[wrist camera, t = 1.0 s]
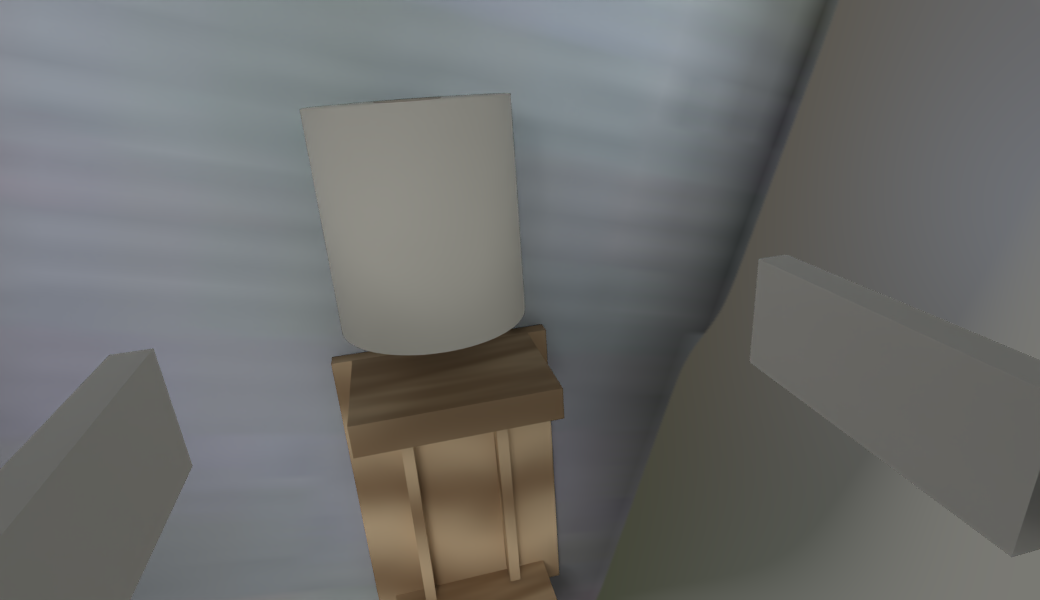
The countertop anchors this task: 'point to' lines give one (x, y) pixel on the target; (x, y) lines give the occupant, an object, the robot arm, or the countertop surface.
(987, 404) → the robot arm
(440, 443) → the holder
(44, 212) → the countertop surface
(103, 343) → the countertop surface
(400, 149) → the roll
